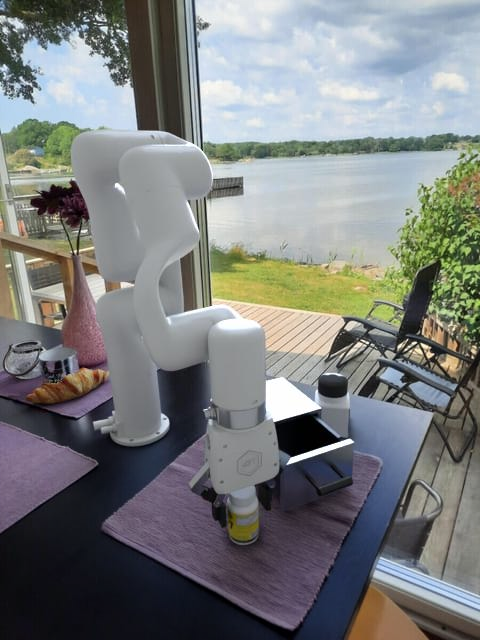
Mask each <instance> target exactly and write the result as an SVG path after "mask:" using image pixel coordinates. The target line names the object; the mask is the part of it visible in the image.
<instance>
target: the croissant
mask: <svg viewBox="0 0 480 640" xmlns="http://www.w3.org/2000/svg"><path fill="white" fill-rule="evenodd" d="M77 370H78V374H75V373H72V374H68V375H67V376H65V377H63V379H62V380H61V381H62V382H60V383H59V382H57V383H50V382H49V383H47V382H44V381H43V382H42V383H41V386H40V387H36V388H35V389H34V390H32V391H31V392H30V394H27V395H25V398H26V400H27V401H28V402H29V403H32V404H33V403H37V404H41V403H42V404H46V405H47V404H48V405H49V404H55V403H61V402H66V401H71V400H72V399H75V398H79V397H83V396H84V395H85V394H88V392H90V391H91V390H93V389H95V388H97V387H98V386H99V385H101V384H102V383H103V384H104V382H106V381H107V380H108V379H109V378H110V374H109V370H102V369H99V368H96V369H94V370H93V369H88V368H85V367H84V366H83V367H81V368H79V369H77Z"/></svg>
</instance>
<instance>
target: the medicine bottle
mask: <svg viewBox="0 0 480 640" xmlns="http://www.w3.org/2000/svg"><path fill="white" fill-rule="evenodd" d="M348 389H349V380H348V378H347V377H346V376H344V375H343V374H341V373H336V372H326V373H322V374H321V375H320V376H318V378H317V389H315V391H314V392H315V393H314V403H316V404H317V405H318V406H320V407H321V408H322V415H321V420H322V421H323V422H324V423H326V424H327V425H328V426H329V427H330V428H332V429H333V430H334V431H335V432H336V433H338V434H339V435H340V436H341V437H342V438H345V439H347V438H348V439H349V436H350V420H351V418H350V417H351V399H350V398H351V397H350V392H349V390H348Z"/></svg>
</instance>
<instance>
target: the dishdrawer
mask: <svg viewBox="0 0 480 640" xmlns="http://www.w3.org/2000/svg"><path fill="white" fill-rule="evenodd" d="M266 404H267V410H268V411H269V412H271V414H272V416H273V420H274V424H275V425H278V424H281V423H285V422H288V421H292V420H295V419H299V418H302V417H306V416H309V415H312V414H315V415H316V416H317V417H318V418H320V419H321V415H322V408H321V407H320V406H318V405H317V404H316V403H315V401H313V400H312V399H311V398H310V397H308V396H307V394H304V392H302V391H301V390H299V389H298V388H297V387H296V386H295V385H293V384H292V383H291V382H289V381H288V380H287V379H286V378H284V377H283V376H281V377H278V378H274V379H269V380H266Z"/></svg>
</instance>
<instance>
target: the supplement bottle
mask: <svg viewBox="0 0 480 640" xmlns="http://www.w3.org/2000/svg"><path fill="white" fill-rule="evenodd" d="M259 506H260V505H259V500H258V496H257V491H256V487H255V485H253V486H250V487H247V488H244V489H241V490H238V491H235V492H232V493H228V497H227V500H226V516H227V532H228V537H229V539H230V540H231V541H232V542H233V543H234V544H236V545H239V546H247V545H250V544H253V543H254V542H256V541H257V539H258V538H259V535H260V515H259V511H260V510H259V509H260V508H259Z"/></svg>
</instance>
